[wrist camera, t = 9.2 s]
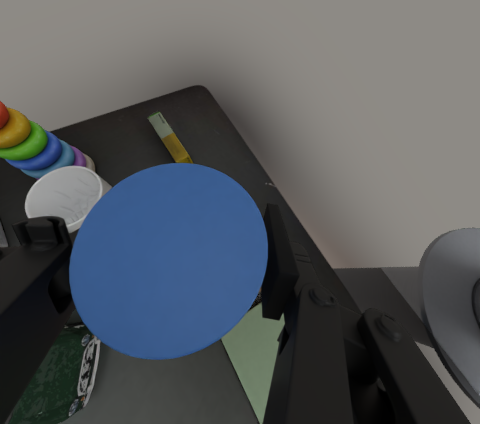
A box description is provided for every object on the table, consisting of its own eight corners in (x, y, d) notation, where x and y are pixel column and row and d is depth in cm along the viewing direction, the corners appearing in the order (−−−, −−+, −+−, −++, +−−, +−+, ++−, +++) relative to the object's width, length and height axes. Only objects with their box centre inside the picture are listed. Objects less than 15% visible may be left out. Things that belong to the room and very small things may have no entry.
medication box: (156, 131, 35) (145, 115, 31) (168, 125, 36) (158, 109, 32) (183, 174, 32) (175, 162, 28) (196, 167, 33) (189, 154, 29)
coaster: (331, 364, 24) (333, 366, 24) (261, 426, 22) (262, 428, 21) (284, 285, 27) (285, 286, 27) (217, 331, 25) (217, 332, 24)
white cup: (83, 239, 27) (8, 222, 18) (104, 195, 30) (47, 160, 21) (132, 246, 28) (83, 234, 18) (148, 202, 30) (112, 171, 21)
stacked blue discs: (272, 280, 14) (373, 300, 4) (188, 335, 12) (40, 571, 3) (229, 206, 15) (230, 102, 6) (151, 245, 14) (-14, 189, 4)
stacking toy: (41, 192, 29) (-239, 75, 12) (59, 154, 32) (-147, 10, 14) (89, 196, 30) (-112, 87, 12) (103, 157, 32) (-45, 22, 15)
